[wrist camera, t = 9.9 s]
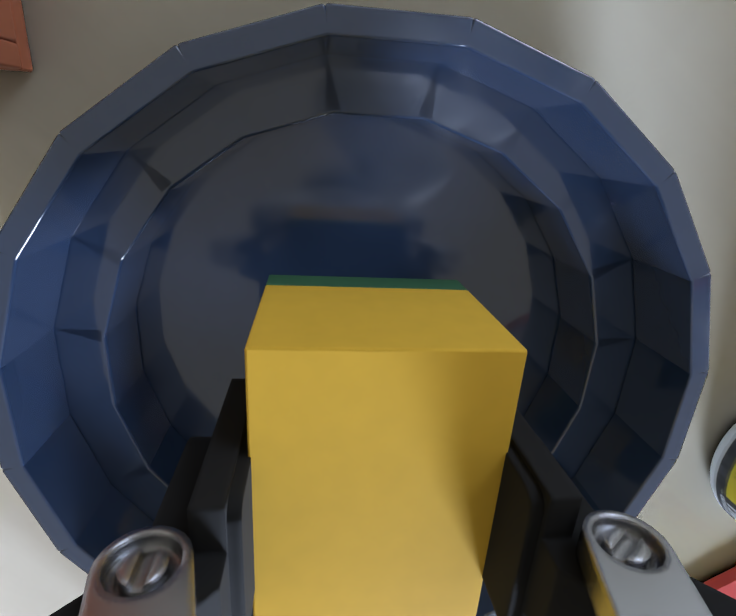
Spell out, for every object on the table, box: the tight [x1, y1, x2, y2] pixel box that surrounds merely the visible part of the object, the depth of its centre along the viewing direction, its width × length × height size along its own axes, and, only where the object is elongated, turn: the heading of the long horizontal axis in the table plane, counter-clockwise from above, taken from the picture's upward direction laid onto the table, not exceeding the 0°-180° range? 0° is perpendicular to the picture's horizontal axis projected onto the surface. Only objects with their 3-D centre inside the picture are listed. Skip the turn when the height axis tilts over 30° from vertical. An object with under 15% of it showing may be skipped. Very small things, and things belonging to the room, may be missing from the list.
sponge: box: [244, 275, 527, 616], centre depth 10 cm, size 7×4×4 cm, turn 176°
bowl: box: [0, 3, 711, 616], centre depth 13 cm, size 17×17×5 cm
